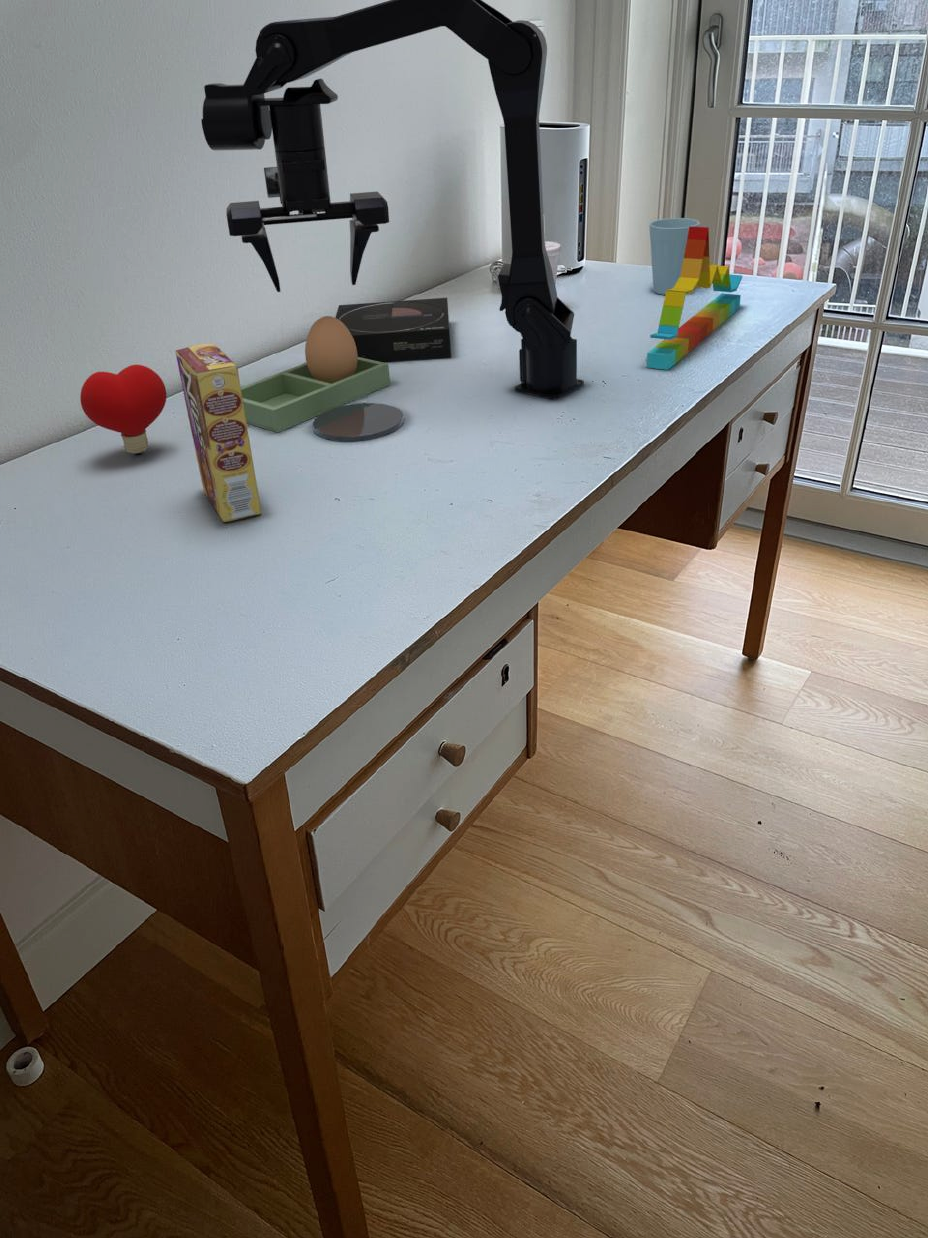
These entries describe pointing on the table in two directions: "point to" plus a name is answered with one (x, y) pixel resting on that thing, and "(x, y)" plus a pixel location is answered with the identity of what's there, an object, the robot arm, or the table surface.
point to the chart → (692, 275)
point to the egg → (330, 350)
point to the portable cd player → (399, 329)
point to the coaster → (358, 422)
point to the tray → (307, 394)
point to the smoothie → (552, 254)
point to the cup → (668, 250)
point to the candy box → (219, 430)
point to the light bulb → (125, 403)
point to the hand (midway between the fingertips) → (316, 287)
